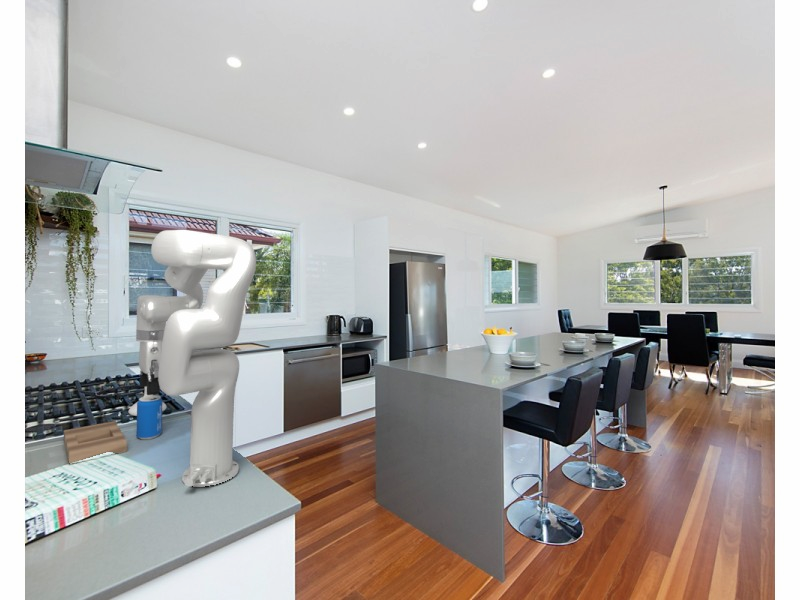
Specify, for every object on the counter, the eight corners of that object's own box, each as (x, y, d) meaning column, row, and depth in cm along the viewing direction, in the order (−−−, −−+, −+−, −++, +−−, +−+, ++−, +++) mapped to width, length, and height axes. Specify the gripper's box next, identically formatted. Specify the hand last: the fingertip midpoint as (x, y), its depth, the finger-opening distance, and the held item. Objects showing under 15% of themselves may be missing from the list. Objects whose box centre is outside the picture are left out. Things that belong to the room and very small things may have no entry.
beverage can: (152, 441, 110) (153, 401, 110) (131, 440, 110) (131, 400, 110) (166, 432, 117) (167, 395, 116) (146, 431, 117) (147, 394, 116)
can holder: (126, 451, 103) (126, 441, 103) (69, 465, 94) (69, 453, 94) (114, 430, 117) (114, 421, 117) (63, 440, 108) (63, 430, 108)
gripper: (172, 338, 109) (170, 395, 110) (158, 331, 121) (156, 382, 122) (142, 340, 104) (140, 399, 105) (130, 332, 116) (129, 385, 117)
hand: (149, 390), depth 113 cm, fingers open, 9 cm apart
